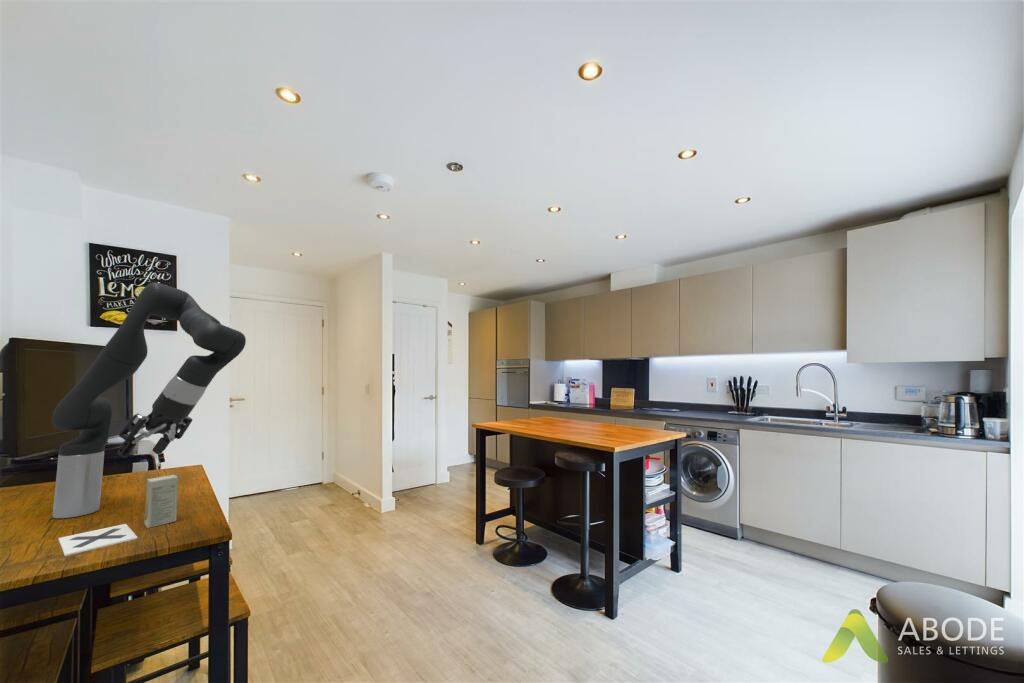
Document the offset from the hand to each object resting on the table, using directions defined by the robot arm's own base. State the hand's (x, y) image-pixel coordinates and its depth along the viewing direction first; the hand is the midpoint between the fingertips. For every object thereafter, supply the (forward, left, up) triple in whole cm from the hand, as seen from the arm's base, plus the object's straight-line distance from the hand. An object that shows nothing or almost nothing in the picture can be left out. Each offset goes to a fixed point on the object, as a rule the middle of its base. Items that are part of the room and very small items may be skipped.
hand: (139, 454), depth 96 cm
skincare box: (-13, +8, -22) cm, 27 cm away
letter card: (-11, -4, -21) cm, 25 cm away
